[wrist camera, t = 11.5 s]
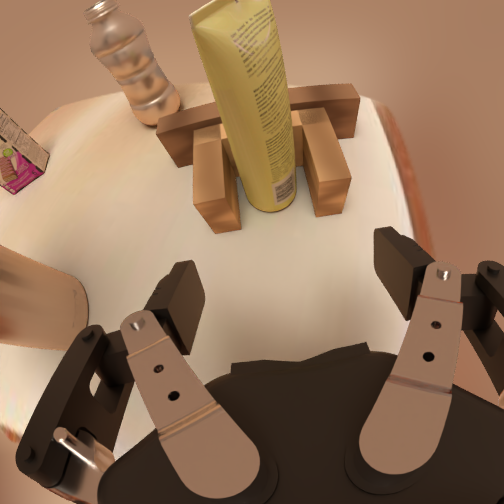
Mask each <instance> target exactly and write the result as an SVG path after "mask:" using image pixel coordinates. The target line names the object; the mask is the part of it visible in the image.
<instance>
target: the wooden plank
mask: <svg viewBox="0 0 504 504" xmlns="http://www.w3.org/2000/svg"><path fill="white" fill-rule="evenodd" d="M288 94H289V101H290V109H291V111H296V110H304V109H313V108H323V107H324V108H325V111H326V113H327V115H328V118H329V120H330V122H331V125H332V127H333V129H334V132H335V134H336V137H337V139H343V138H353V137H354V132H355V127H356V121H357V116H358V110H359V104H360V97H359V95H358V93H357V92H356V90H355V88H354V87H353V85H352V84H330V85H318V86H306V87H297V88H288ZM218 124H222V120H221V117H220V114H219V111H218V108H217V104H216V102H213V103H209V104H205V105H201V106H197V107H194V108H190V109H186V110H183V111H180V112H176V113H173V114H170V115H167V116H164V117H161V118H159V119H158V125H157V131H156V135H157V137H158V138H159V140H160V141H161V143H162V144H163V146H164V147H165V149H166V150H167V152H168V153H169V155H170V156H171V158H172V159H173V161H174V162H175V164H176V165H177V167H178V168H179V167H183V166H187V165H191V164H193V144H194V130H197V129H201V128H205V127H209V126H214V125H218Z"/></svg>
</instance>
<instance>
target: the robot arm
mask: <svg viewBox="0 0 504 504" xmlns="http://www.w3.org/2000/svg"><path fill="white" fill-rule="evenodd" d="M374 268H375V271H376V274H377V276H378V277H379V279H380V280H381V282H382V283H383V285H384V286H385V288H386V289H387V291H388V293H389V294H390V296H391V297H392V299H393V301H394V302H395V304H396V305H397V307H398V309H399V310H400V312H401V314H402V315H403V317H404V319H405V320H406V321H408V320H410V323H409V327H408V329H407V332H406V335H405V338H404V341H403V344H402V346H401V349H400V352H399V354H398V356H397V355H395V354H391V353H386V352H377V351H370V350H369V348H368V345H367V343H366V342H364V343H360V344H355V345H351V346H346V347H341V348H336V349H333V350H330V351H328V352H325V353H323V354H320V355H318V356H315V357H312V358H310V359H307V360H304V361H301V362H290V361H273V360H259V361H250V362H240V363H232V365H231V373H229V374H226V375H223V376H221V377H218V378H216V379H214V380H212V381H211V382H209V383H207V384H206V385H203V384H202V383H201V381H200V380H199V379H198V377H197V376H196V375H195V373H194V372H193V371H192V369H191V368H190V366H189V365H188V364H187V362H186V361H185V359H184V358H183V356H182V355H190V352H191V349H192V345H193V342H194V338H195V335H196V331H197V328H198V324H199V321H200V317H201V314H202V310H203V307H204V304H205V293H204V289H203V286H202V283H201V280H200V278H199V275H198V272H197V269H196V266H195V263H194V262H193V261H192V260H188V261H182V262H177V263H175V265H174V266H173V268H172V270H171V272H170V273H169V275H166V276H165V277H164V278H163V279H162V280H160V281H159V283H158V285H157V286H156V288H155V289H156V290H154V292H153V293H152V295H151V297H150V299H149V300H148V302H147V304H146V306H145V307H144V309H143V310H142V311H138V312H135V313H133V314H131V315H129V316H128V317H127V318H126V319H125V320H124V321H123V322H122V324H121V326H120V330H118V331H115V332H112V333H108V334H106V333H105V331H104V330H103V328H102V327H101V326H100V325H91V326H88V327H86V325H87V319H88V302H87V298H86V294H85V291H84V288H83V286H82V285H81V283H80V282H79V281H78V280H77V279H76V278H75V277H73V276H70V275H68V274H65V273H63V272H60V271H58V270H55V269H53V268H51V267H48V266H46V265H44V264H41V263H39V262H37V261H34V260H32V259H30V258H27V257H25V256H23V255H21V254H19V253H16V252H14V251H12V250H10V249H8V248H6V247H4V246H2V245H0V343H2V344H8V345H15V346H23V347H31V348H39V349H49V350H62V351H67V352H66V354H65V355H64V357H63V359H62V360H61V362H60V364H59V365H58V367H57V369H56V371H55V372H54V374H53V376H52V378H51V380H50V381H49V383H48V385H47V387H46V389H45V391H44V393H43V395H42V397H41V398H40V400H39V402H38V404H37V406H36V408H35V410H34V413H33V415H32V417H31V419H30V421H29V423H28V425H27V427H26V430H25V432H24V434H23V437H22V439H21V441H20V444H19V446H18V449H17V452H16V464H17V467H18V469H19V470H20V471H21V472H22V473H24V474H25V475H27V476H28V477H30V478H31V479H33V480H34V481H36V482H37V483H39V484H40V485H41V486H42V487H44V488H46V489H47V490H49V491H51V492H53V493H55V494H56V495H58V496H60V497H62V498H64V499H66V500H69V501H72V502H74V503H76V504H504V332H503V331H502V330H501V328H500V327H499V325H498V324H497V323H496V321H495V320H494V318H495V315H496V312H497V310H499V312H500V313H501V314H502V316H503V317H504V266H503V265H501V264H499V263H497V262H494V261H483V262H480V263H479V265H478V268H477V273H476V274H461V271H460V269H459V268H458V267H457V266H455V265H453V264H451V263H448V262H443V261H438V262H436V261H435V260H434V259H433V258H432V257H431V256H430V255H429V254H428V253H427V252H426V251H425V250H423V249H422V248H421V247H420V246H418V244H417V243H416V242H415V241H414V240H413V239H411V238H409V237H406V236H404V235H400V234H399V233H398V232H397V231H396V230H395V229H394V228H392V227H391V226H389V227H383V228H377V229H375V230H374ZM461 330H463V331H464V333H465V334H466V336H467V338H468V339H469V341H470V343H471V344H472V346H473V347H474V349H475V351H476V353H477V355H478V356H479V358H480V360H481V361H482V364H483V365H484V367H485V369H486V371H487V373H488V375H489V376H490V378H491V381H492V383H493V385H494V387H495V389H496V391H497V393H498V395H499V400H498V406H496V405H494V404H492V403H490V402H488V401H486V400H484V399H482V398H480V397H478V396H476V395H474V394H472V393H470V392H468V391H466V390H464V389H462V388H460V387H458V386H457V385H455V384H453V378H454V373H455V368H456V363H457V357H458V350H459V343H460V335H461ZM94 372H95V373H96V374H97V375H98V376H99V378H100V379H101V381H100V384H99V386H98V388H97V391H96V393H95V395H94V397H93V395H92V394H91V392H90V388H89V385H90V381H91V379H92V377H93V374H94ZM134 382H136V384H137V387H138V389H139V391H140V394H141V396H142V398H143V401H144V403H145V405H146V407H147V410H148V412H149V414H150V416H151V418H152V420H153V422H154V424H155V426H156V428H155V429H154V430H153V431H152V432H151V433H150V434H148V435H147V436H146V437H145V438H144V439H142V440H141V441H140V442H139V443H138V444H136V445H135V446H134V447H133V448H131V449H130V450H129V451H128V452H127V453H125V454H124V455H123V456H121V457H120V458H119V459H118V460H116V461H115V458H114V455H113V450H114V446H115V443H116V439H117V436H118V432H119V429H120V426H121V422H122V419H123V416H124V413H125V409H126V406H127V403H128V400H129V397H130V394H131V391H132V388H133V385H134Z"/></svg>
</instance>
